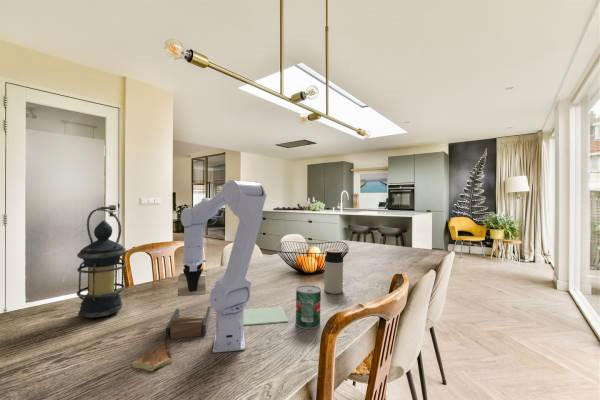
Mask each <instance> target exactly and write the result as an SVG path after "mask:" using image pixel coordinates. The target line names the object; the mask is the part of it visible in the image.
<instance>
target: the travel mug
mask: <svg viewBox="0 0 600 400" xmlns="http://www.w3.org/2000/svg"><path fill="white" fill-rule="evenodd" d="M343 251H344V250H343V249H341V248H340V249H339V248H326V249H325V253H326V254H325V256H324V282H323V283H324V285H323V291H324V292H325V293H328V294H331V295H338V294H341V293H342V292H343V288H344V287H343V282H344V279H343V278H344V256H343Z"/></svg>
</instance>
